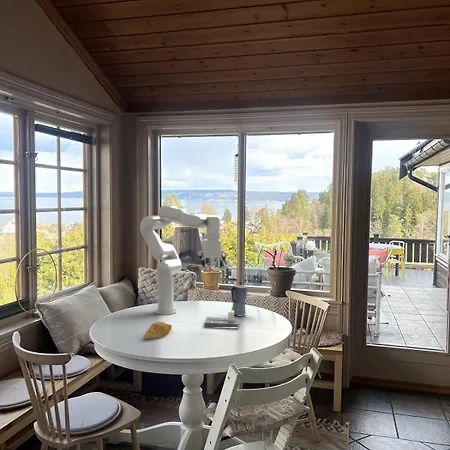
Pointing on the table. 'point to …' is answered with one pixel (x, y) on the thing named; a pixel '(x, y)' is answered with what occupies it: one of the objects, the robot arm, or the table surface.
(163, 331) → the croissant
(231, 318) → the fader knob
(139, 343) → the table surface
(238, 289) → the moka pot
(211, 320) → the fader console
